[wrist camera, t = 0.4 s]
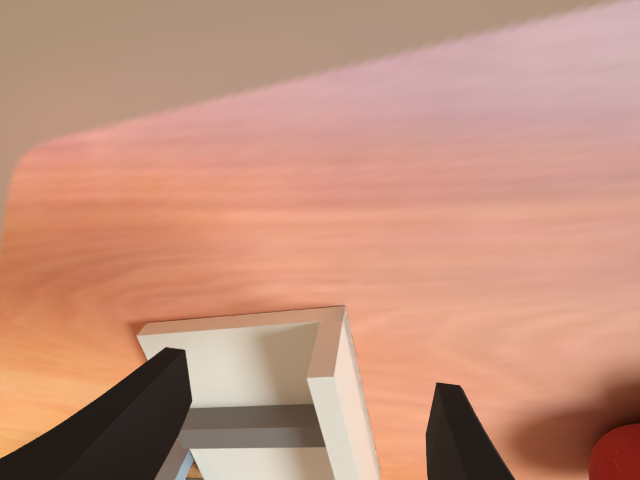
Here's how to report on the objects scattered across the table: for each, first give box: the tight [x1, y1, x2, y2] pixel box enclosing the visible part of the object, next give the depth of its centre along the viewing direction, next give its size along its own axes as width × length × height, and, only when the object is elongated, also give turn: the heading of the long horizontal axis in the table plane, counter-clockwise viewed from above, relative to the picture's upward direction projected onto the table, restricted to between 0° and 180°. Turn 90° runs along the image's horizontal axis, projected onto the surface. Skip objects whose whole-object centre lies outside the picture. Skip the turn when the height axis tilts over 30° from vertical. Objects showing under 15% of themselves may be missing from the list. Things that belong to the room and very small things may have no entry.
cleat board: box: [136, 306, 380, 480], centre depth 24 cm, size 13×12×5 cm
